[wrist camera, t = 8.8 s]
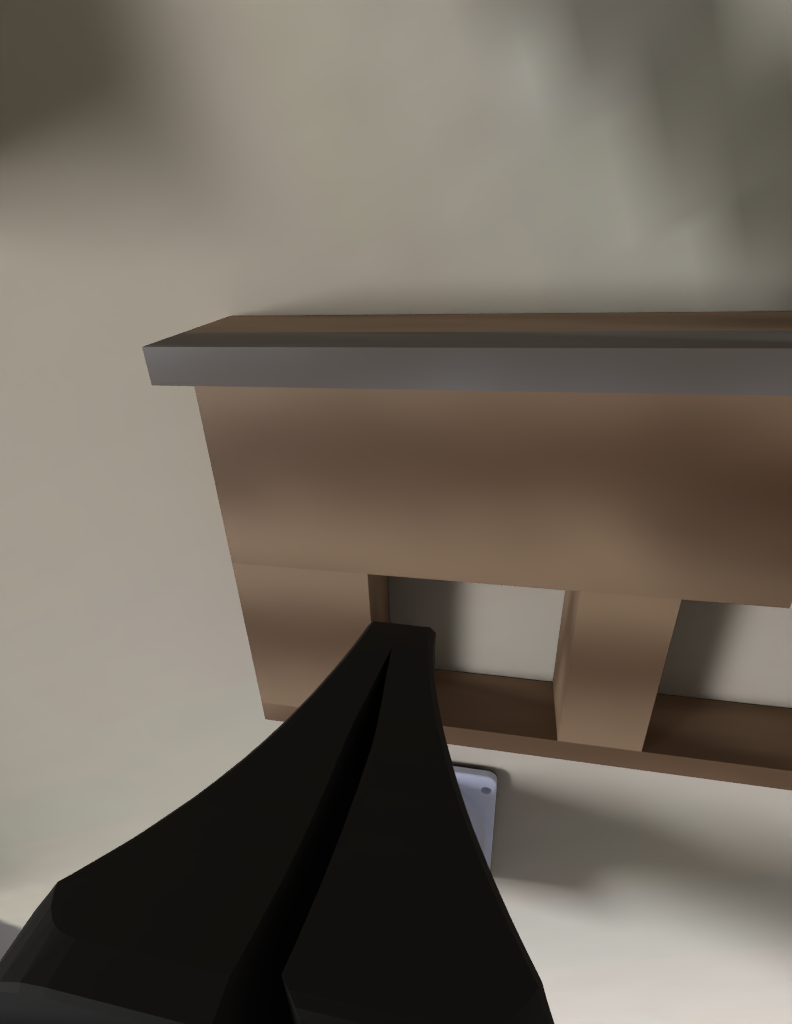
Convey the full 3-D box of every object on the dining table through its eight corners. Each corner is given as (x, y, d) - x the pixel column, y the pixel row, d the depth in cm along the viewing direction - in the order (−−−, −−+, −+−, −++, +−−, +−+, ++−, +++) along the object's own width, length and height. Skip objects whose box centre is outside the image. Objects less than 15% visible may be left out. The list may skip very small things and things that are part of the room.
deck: (922, 742, 21) (1025, 877, 17) (290, 668, 26) (245, 759, 22) (1190, 307, 14) (1504, 350, 9) (229, 316, 18) (142, 346, 14)
